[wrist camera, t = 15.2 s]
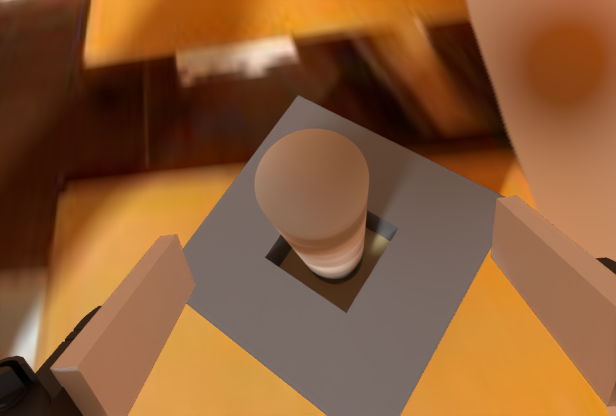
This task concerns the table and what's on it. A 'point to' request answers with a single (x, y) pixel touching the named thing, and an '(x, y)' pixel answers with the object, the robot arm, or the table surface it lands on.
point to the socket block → (356, 292)
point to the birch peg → (317, 199)
